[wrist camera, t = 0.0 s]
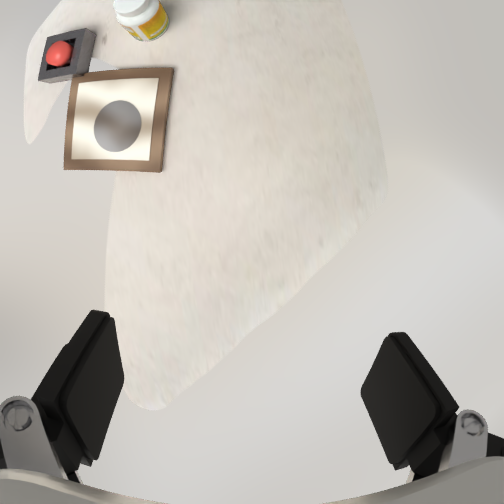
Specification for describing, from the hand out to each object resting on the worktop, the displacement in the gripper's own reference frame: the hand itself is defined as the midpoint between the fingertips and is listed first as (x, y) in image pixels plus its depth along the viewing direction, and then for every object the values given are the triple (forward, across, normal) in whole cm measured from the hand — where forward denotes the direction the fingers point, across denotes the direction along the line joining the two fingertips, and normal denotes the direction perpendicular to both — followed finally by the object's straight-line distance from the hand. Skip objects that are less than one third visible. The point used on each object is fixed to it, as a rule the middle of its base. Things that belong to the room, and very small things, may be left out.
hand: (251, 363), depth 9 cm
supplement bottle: (+32, +15, -23) cm, 42 cm away
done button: (+29, +27, -19) cm, 44 cm away
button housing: (+31, +27, -19) cm, 45 cm away
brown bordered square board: (+31, +18, -9) cm, 37 cm away
